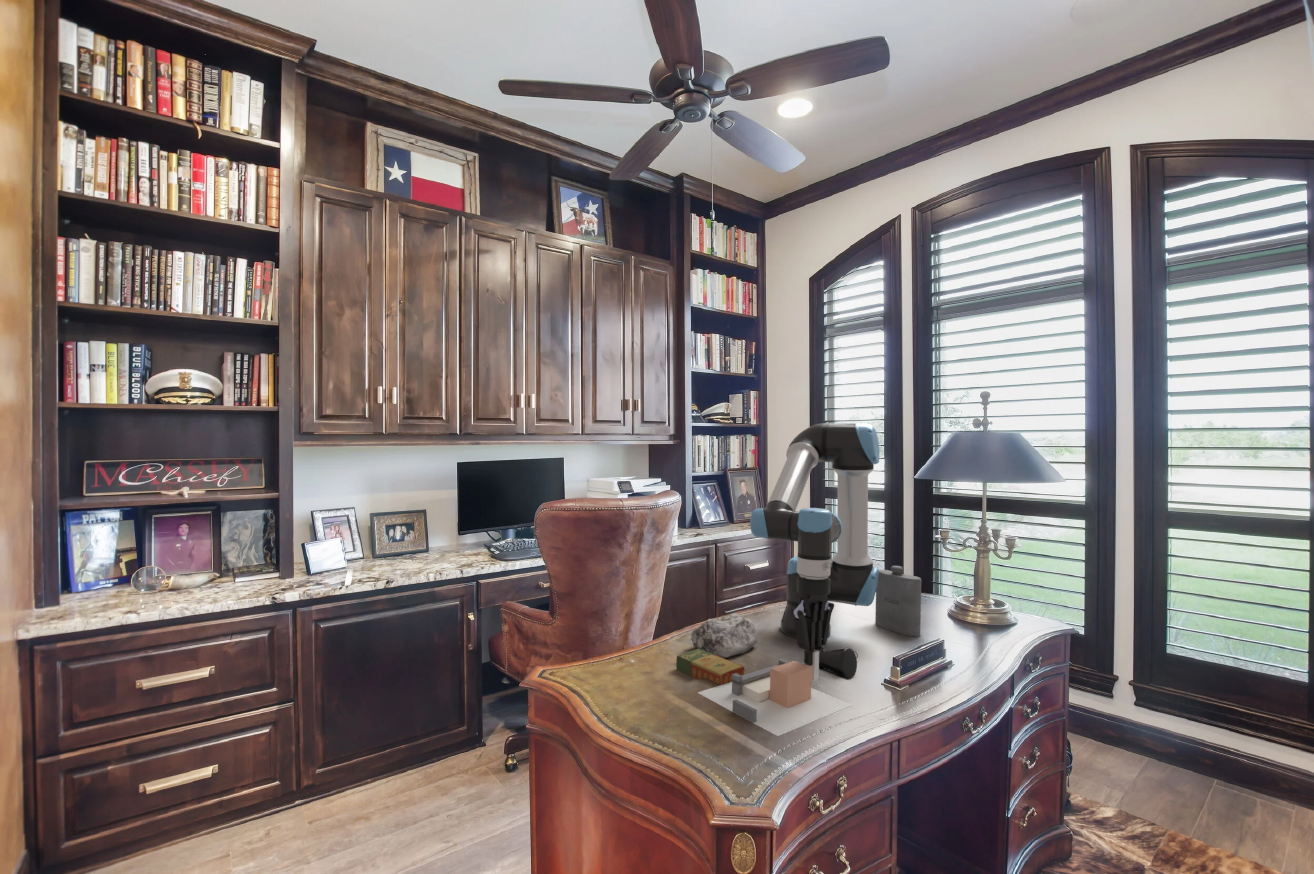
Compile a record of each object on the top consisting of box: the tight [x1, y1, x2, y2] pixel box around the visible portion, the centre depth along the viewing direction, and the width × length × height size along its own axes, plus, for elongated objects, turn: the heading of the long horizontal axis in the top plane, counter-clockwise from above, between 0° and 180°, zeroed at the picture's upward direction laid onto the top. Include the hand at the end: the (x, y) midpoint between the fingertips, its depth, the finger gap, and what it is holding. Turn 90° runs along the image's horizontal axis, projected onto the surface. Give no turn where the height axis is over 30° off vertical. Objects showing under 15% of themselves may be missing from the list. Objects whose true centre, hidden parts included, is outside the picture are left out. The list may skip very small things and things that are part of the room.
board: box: [697, 658, 852, 737], centre depth 132 cm, size 24×24×5 cm
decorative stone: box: [690, 612, 758, 659], centre depth 167 cm, size 20×13×10 cm
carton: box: [675, 648, 745, 686], centre depth 148 cm, size 8×16×4 cm, turn 40°
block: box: [770, 660, 812, 708], centre depth 132 cm, size 5×8×7 cm, turn 127°
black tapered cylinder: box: [819, 647, 859, 680], centre depth 155 cm, size 8×18×8 cm
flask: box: [874, 565, 922, 637], centre depth 187 cm, size 15×6×20 cm, turn 34°
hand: (811, 677), depth 136 cm, fingers closed
